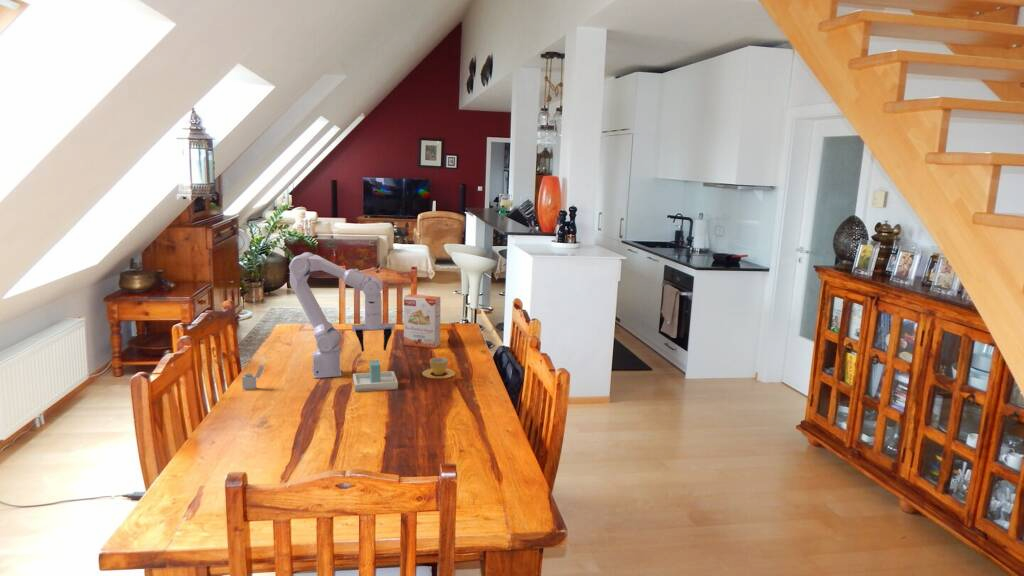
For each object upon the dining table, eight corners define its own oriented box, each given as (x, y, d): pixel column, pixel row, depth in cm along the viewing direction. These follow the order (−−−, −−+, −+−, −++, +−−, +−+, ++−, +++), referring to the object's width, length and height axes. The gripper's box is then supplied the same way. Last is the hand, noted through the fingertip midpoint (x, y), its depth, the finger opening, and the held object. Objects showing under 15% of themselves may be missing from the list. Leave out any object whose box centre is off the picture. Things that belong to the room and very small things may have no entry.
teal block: (369, 379, 240) (369, 360, 239) (378, 379, 241) (378, 359, 240) (371, 385, 234) (371, 365, 233) (380, 384, 235) (380, 365, 234)
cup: (450, 380, 245) (450, 366, 244) (417, 377, 247) (417, 363, 246) (459, 370, 257) (459, 356, 256) (428, 368, 259) (428, 354, 258)
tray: (355, 392, 231) (355, 384, 230) (352, 380, 242) (352, 373, 242) (397, 388, 235) (397, 381, 234) (393, 377, 246) (393, 371, 246)
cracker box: (403, 345, 286) (403, 296, 282) (409, 342, 292) (409, 293, 288) (434, 349, 283) (435, 298, 279) (440, 345, 288) (440, 296, 284)
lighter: (242, 389, 231) (241, 366, 229) (243, 387, 232) (242, 364, 231) (264, 389, 232) (263, 365, 230) (265, 387, 233) (264, 364, 232)
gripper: (352, 316, 238) (353, 354, 240) (395, 314, 242) (395, 352, 244) (351, 311, 245) (352, 348, 247) (393, 310, 248) (393, 346, 251)
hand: (373, 350), depth 246 cm, fingers open, 7 cm apart
